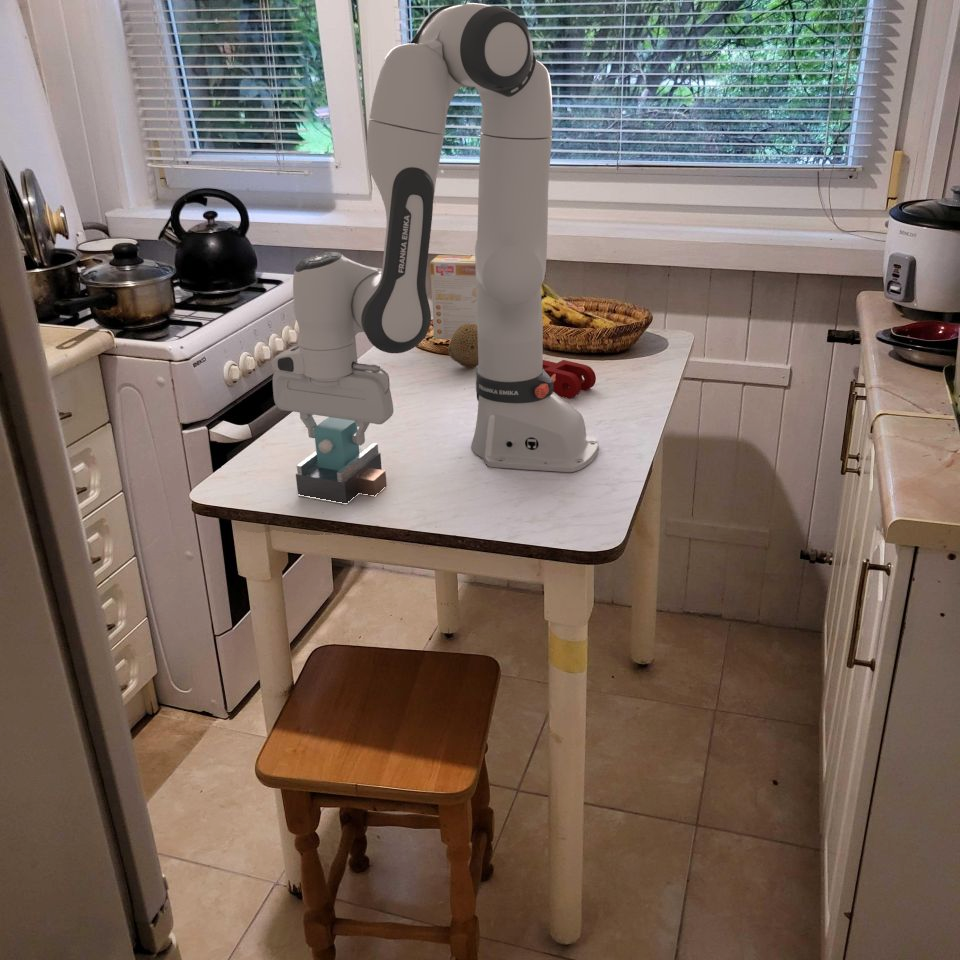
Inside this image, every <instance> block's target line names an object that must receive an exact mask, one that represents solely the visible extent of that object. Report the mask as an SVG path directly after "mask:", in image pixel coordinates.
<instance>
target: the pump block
mask: <svg viewBox="0 0 960 960" xmlns="http://www.w3.org/2000/svg"><path fill="white" fill-rule="evenodd" d="M356 431H358V427H357V426H356V421H353V420H346V419H340V418H333V417H326V419H324V420H323V421H321V422H319V423H318V424H317V426H315V427H314V435H315V438H314V442H315V451H316V453H317V462H318V467H320V468H326V469H332V470H338V471H339V470H340V469H342V468H343V467H344V466H345V465H347V464H348V463H349V462H350V461H352V460H353V459H354V458H355V457H357V456H358V455H359V449H360V445H354V444H352V439H351V435H352V434H353V433H354V432H356Z"/></svg>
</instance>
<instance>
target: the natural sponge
mask: <svg viewBox="0 0 960 960" xmlns="http://www.w3.org/2000/svg"><path fill="white" fill-rule="evenodd" d="M447 351H448V355H449V357H450V358H451V359H452V360H453V361H455V362H457V363H458V364H459V365H461V366H462V367H464V368H467V369H475V368H476V367H478V331H477V324H470V323H467V324H464V325H462V326H460V327H459V328H458V329H457V330H456V331H455V333H454V335H453V337H452V340H451V342H450V344H449V345H448V347H447Z"/></svg>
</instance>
